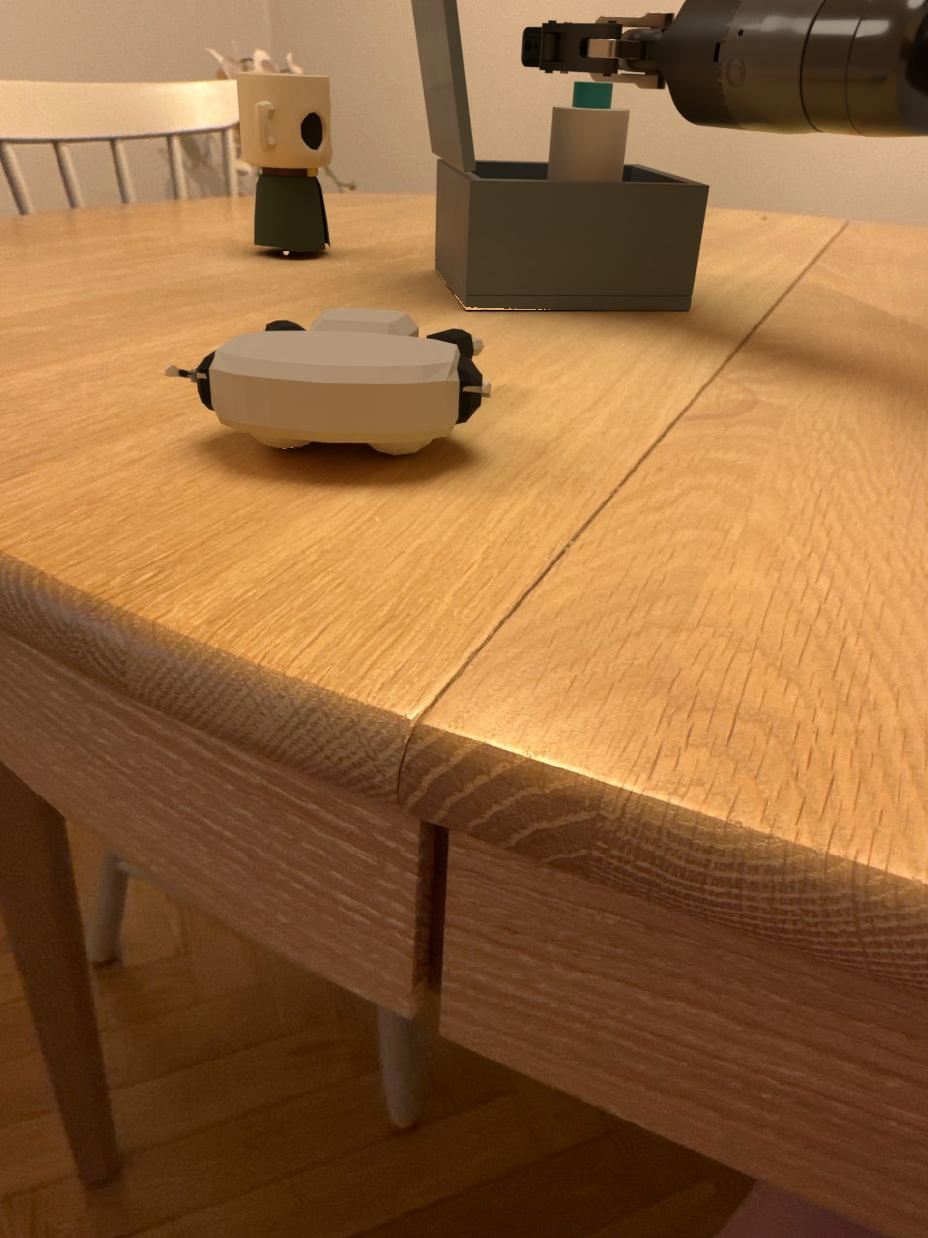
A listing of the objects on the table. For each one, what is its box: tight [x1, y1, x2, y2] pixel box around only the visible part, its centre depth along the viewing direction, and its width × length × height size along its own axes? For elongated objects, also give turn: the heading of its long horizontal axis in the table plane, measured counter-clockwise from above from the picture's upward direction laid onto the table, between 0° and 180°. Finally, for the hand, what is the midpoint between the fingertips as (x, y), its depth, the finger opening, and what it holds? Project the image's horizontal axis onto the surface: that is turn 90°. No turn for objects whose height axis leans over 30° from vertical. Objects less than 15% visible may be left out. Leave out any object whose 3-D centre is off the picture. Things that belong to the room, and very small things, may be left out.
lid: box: [410, 0, 476, 172], centre depth 60 cm, size 17×14×1 cm
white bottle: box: [547, 80, 631, 182], centre depth 66 cm, size 5×5×12 cm
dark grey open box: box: [434, 158, 710, 312], centre depth 68 cm, size 16×14×8 cm
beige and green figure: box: [235, 71, 334, 253], centre depth 75 cm, size 11×7×13 cm, turn 168°
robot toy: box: [164, 307, 492, 456], centre depth 42 cm, size 12×4×15 cm
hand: (574, 49), depth 63 cm, fingers open, 8 cm apart
